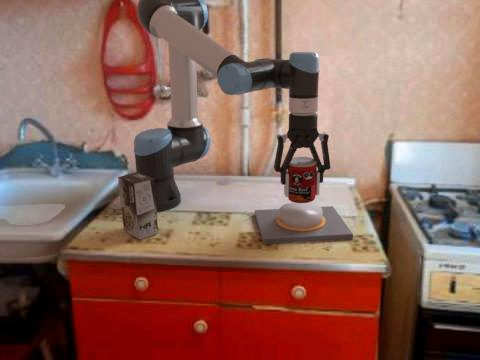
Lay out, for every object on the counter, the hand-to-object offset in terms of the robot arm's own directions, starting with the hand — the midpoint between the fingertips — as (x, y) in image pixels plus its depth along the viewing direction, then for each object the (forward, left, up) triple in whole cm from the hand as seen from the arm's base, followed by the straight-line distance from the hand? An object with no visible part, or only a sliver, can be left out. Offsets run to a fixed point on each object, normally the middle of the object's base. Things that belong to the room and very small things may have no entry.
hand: (301, 194), depth 134 cm
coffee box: (-2, -45, -10) cm, 46 cm away
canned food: (0, 0, -1) cm, 1 cm away
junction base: (0, 0, -10) cm, 10 cm away
